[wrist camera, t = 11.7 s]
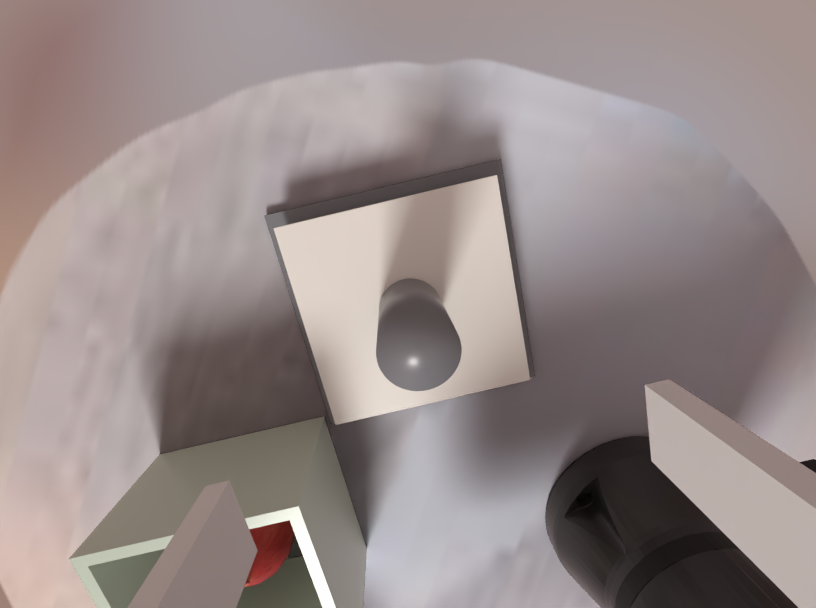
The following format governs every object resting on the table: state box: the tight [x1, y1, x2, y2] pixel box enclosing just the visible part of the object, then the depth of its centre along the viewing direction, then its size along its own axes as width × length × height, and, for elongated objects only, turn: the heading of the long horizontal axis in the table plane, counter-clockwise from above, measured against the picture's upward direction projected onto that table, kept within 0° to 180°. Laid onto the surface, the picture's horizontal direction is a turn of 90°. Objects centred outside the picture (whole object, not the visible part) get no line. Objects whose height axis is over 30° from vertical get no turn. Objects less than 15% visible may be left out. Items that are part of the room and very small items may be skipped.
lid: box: [273, 175, 530, 425], centre depth 26 cm, size 15×15×10 cm
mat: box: [265, 159, 535, 423], centre depth 31 cm, size 17×17×1 cm
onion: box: [244, 520, 294, 587], centre depth 32 cm, size 6×6×8 cm
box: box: [69, 416, 367, 608], centre depth 31 cm, size 14×14×10 cm
